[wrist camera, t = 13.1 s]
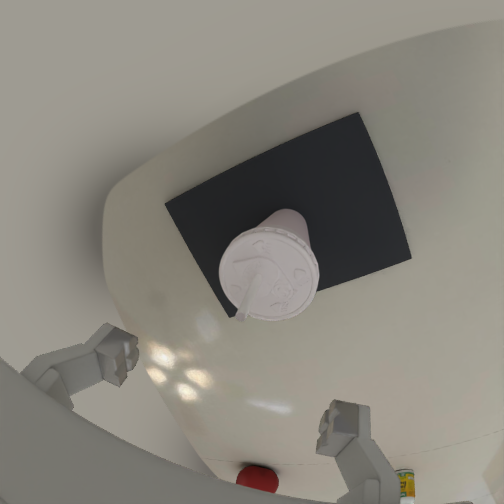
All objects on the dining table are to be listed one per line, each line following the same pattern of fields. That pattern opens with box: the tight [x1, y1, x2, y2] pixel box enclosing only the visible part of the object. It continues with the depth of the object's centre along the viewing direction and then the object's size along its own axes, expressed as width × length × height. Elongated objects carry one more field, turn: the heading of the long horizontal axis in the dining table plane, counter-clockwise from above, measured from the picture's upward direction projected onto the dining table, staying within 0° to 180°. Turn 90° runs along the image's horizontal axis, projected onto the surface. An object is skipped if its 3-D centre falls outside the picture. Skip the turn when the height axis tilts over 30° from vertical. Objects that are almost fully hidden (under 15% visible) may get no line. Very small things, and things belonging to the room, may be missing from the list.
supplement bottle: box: [396, 470, 415, 504], centre depth 37 cm, size 5×5×10 cm
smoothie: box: [219, 209, 319, 321], centre depth 21 cm, size 6×6×14 cm
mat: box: [165, 112, 412, 318], centre depth 28 cm, size 20×14×1 cm
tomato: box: [236, 466, 279, 493], centre depth 45 cm, size 8×8×7 cm
